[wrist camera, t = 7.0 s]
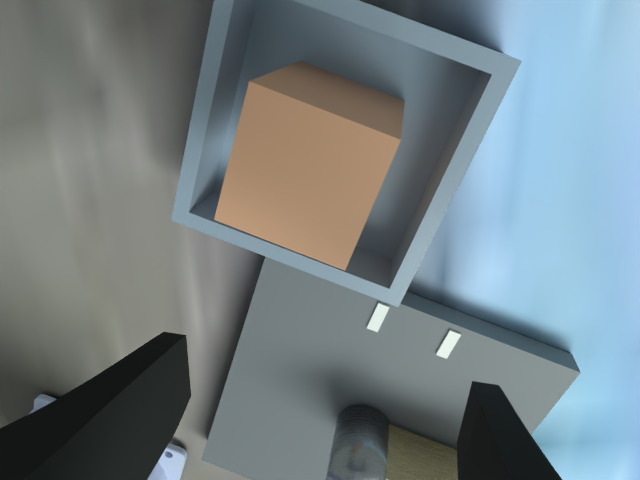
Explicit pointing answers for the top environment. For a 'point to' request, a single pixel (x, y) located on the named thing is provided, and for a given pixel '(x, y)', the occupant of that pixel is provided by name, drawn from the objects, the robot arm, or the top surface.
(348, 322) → the plate
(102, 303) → the top surface
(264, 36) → the tray
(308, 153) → the block
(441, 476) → the crank
